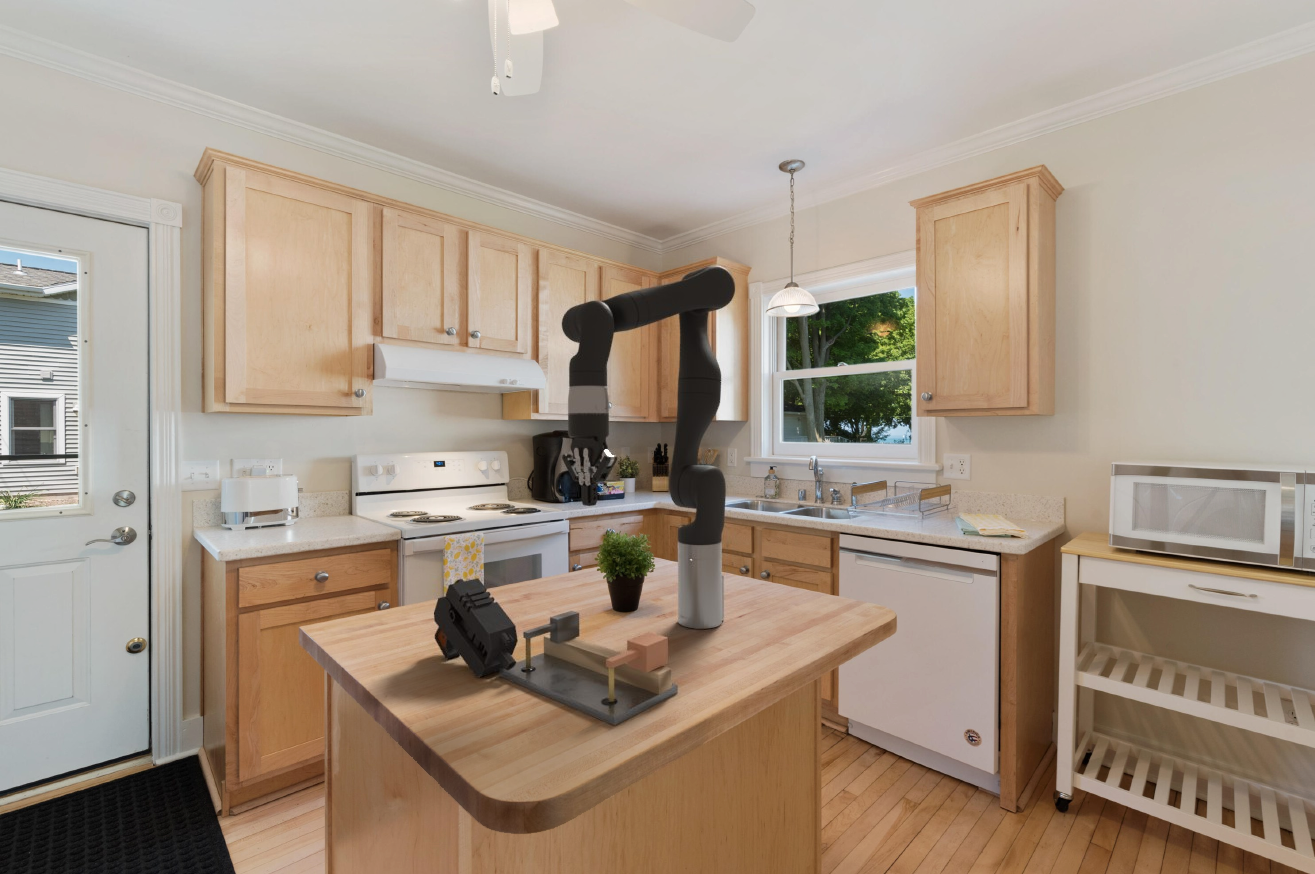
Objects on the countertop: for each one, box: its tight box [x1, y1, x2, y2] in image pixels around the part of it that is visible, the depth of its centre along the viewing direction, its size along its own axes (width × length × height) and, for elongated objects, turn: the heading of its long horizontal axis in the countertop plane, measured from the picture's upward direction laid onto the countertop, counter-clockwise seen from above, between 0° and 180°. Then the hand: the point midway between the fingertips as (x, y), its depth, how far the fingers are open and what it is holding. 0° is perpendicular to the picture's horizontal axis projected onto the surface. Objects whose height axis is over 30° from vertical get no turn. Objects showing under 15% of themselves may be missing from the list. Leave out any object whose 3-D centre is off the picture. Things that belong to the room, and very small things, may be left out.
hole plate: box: [498, 652, 679, 727], centre depth 100 cm, size 14×27×1 cm, turn 49°
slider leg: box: [606, 631, 669, 702], centre depth 94 cm, size 11×4×7 cm, turn 139°
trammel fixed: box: [522, 610, 673, 694], centre depth 101 cm, size 11×27×7 cm, turn 49°
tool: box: [433, 578, 519, 678], centre depth 108 cm, size 6×19×15 cm, turn 51°
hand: (589, 505), depth 115 cm, fingers closed
